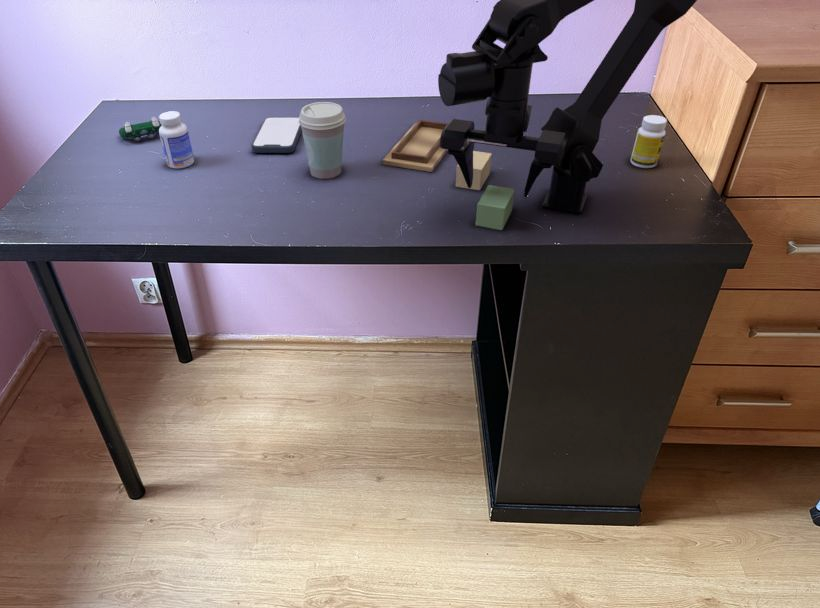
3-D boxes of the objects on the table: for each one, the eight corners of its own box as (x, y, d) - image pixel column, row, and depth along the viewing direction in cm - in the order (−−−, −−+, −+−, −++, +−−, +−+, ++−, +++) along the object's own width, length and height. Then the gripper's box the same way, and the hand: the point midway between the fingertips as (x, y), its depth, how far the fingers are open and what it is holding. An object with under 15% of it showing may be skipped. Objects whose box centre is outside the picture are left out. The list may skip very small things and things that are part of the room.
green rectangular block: (502, 230, 107) (505, 208, 104) (475, 225, 109) (477, 203, 106) (512, 210, 112) (515, 188, 109) (486, 205, 113) (488, 184, 111)
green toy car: (123, 148, 141) (121, 136, 135) (118, 131, 141) (116, 119, 135) (166, 139, 144) (166, 128, 138) (161, 123, 144) (160, 111, 138)
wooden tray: (432, 172, 124) (432, 161, 122) (382, 164, 127) (382, 153, 125) (460, 133, 137) (461, 122, 135) (415, 126, 140) (415, 116, 138)
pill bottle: (200, 159, 131) (190, 111, 125) (183, 171, 128) (172, 122, 121) (177, 155, 133) (167, 107, 127) (161, 166, 129) (149, 118, 123)
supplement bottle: (658, 169, 121) (671, 125, 116) (631, 168, 122) (642, 123, 116) (654, 158, 125) (667, 114, 119) (628, 157, 125) (639, 113, 120)
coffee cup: (313, 160, 129) (308, 98, 121) (354, 165, 127) (352, 103, 119) (296, 179, 123) (289, 116, 115) (339, 185, 121) (335, 121, 113)
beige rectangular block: (479, 190, 118) (481, 169, 115) (455, 186, 119) (456, 165, 116) (489, 173, 122) (491, 153, 120) (466, 170, 124) (467, 149, 121)
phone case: (265, 124, 144) (250, 154, 132) (264, 116, 143) (249, 146, 131) (305, 124, 144) (294, 154, 131) (305, 116, 143) (293, 146, 130)
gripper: (582, 82, 99) (564, 178, 110) (462, 70, 105) (456, 162, 116) (569, 109, 92) (552, 209, 102) (441, 95, 98) (436, 190, 108)
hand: (497, 191), depth 107 cm, fingers open, 9 cm apart
